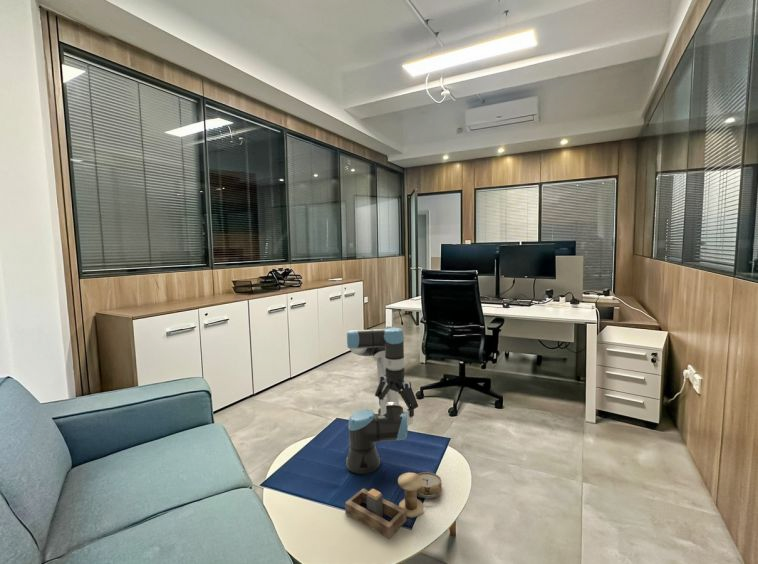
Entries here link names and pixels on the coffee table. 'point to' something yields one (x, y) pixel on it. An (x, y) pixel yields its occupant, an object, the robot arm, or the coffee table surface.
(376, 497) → the grey upright block
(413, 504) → the bobbin
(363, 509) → the open rectangular wooden frame
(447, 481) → the coffee table surface
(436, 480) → the alarm clock
